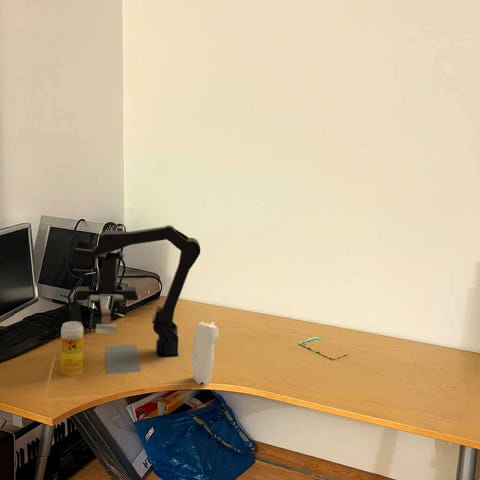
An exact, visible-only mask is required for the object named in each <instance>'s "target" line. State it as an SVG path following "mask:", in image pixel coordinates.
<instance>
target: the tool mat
mask: <svg viewBox="0 0 480 480" xmlns="http://www.w3.org/2000/svg"><path fill="white" fill-rule="evenodd" d="M140 366H141V365H140V358H139V352H138V345H137V344H124V345H123V344H122V345H105V374H123V373H141V367H140Z"/></svg>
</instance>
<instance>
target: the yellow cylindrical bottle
mask: <svg viewBox="0 0 480 480" xmlns="http://www.w3.org/2000/svg"><path fill="white" fill-rule="evenodd" d="M83 371H84V326H83V324H82V322H81V321H75V320H74V321H67V322H66V321H65V322H64V323H62V326H61V328H60V373H61V375H63V376H67V377H69V376H70V377H72V376H73V377H74V376H78V375H80V374H82V372H83Z"/></svg>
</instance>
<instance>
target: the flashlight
mask: <svg viewBox="0 0 480 480" xmlns="http://www.w3.org/2000/svg"><path fill="white" fill-rule="evenodd" d="M194 334H195V336H194V338H193V344H192V349H191V350H192V351H191V363H192V365H191V366H192V377H193V378H194V382H195V383H196V384H197V385H201V383H203V384H202V385H203V386H206V385H209V384H210V381H211V377H212V373H213V367H214V359H215V341H217V340H218V339H219V329H218V326H216V323H215V322H214V321H211V322H210V321H208V322H206V321H201V322H199V323H198V324H197V327H196V328H195V333H194Z"/></svg>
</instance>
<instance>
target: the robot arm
mask: <svg viewBox="0 0 480 480" xmlns="http://www.w3.org/2000/svg"><path fill="white" fill-rule="evenodd" d="M160 241H168V242H169V243H171V244H172V245H173V246H175V248H177V249H178V250H179V251H180V253H179V259H178V264H177V267H176V269H175V272H174V276H173V279H172V281H171V284H170V286H169V289H168V291H167V294H166V296H165V298H164V299H165V300H164V302H163V304H162V305H161V306H159V305H156V309H155V313H154V314H153V315H152V321H151V324H153V325H152V329H153V332H154V333H155V334H156V335H157V339H156V340H155V354H156V355H157V357H158V358H161V359H162V358H176V357H177V358H179V336H178V333H179V332H178V325H177V324H176V323H175V322H174V321H173V320H174V317H175V316H174V315H175V309H176V306H177V303H178V301H179V298H180V296H181V294H182V293H181V292H182V290H183V287H184V285H185V283H186V280H187V276H188V274H189V272H190V270H191V268H192V267H193V266H194V264H195V263H196V261H197V260H198V258H199V256H200V254H201V247H200V242H199V241H198V239H196V238H194V237H189V236H187V235H185V233H183V232H181V231H180V230H177V229H176V228H175V227H174V226H173V225H170V224H169V225H165V226H161V227H154V228H153V227H152V228H147V229H139V230H134V231H133V230H132V231H123V230H106V231H104V232H103V233H102V234H101V235H100V236H99V238H98V240H97V245H95V246H94V248H93V249H88V248H81V247H80V248H79V247H76V248H75V249H74V254H73V259H72V264H71V265H72V266H71V267H72V270H73V271H80V272H81V271H82V272H84V271H85V272H93V270H94V269H97V268H98V270H97V273H96V274H95V273H93V274H92V284H93V285H97V287H96V290H95V289H93V290H92V289H90V287H89V286H77V287H76V288H75V292H74V293H75V295H74V296H75V297H74V300H75V301H87V300H88V299H90V300H89V301H90V304H93V305H94V307H95V308H96V310H97V314H98V317H99V320H100V321H101V320H102V312H101V310H102V305H101V297H112V301H111V307H110V316H111V320H112V319H113V317H114V315H115V312H116V310H117V308H118V306H119V305H120V304H122V303H123V302H124V299H126V300H127V301H138V298H139V294H138V293H139V291H138V289H137V288H136V286H124V287H123V289H122V290H121V289H120V290H119V289H117V283H118V281H117V280H118V262H119V261H118V260H123V259H124V257H125V254H123V253H122V252H121V249H123V248H125V247H129V246H133V245H139V244H145V243H152V242H160ZM104 253H105V254H104ZM97 265H98V266H97Z"/></svg>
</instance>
